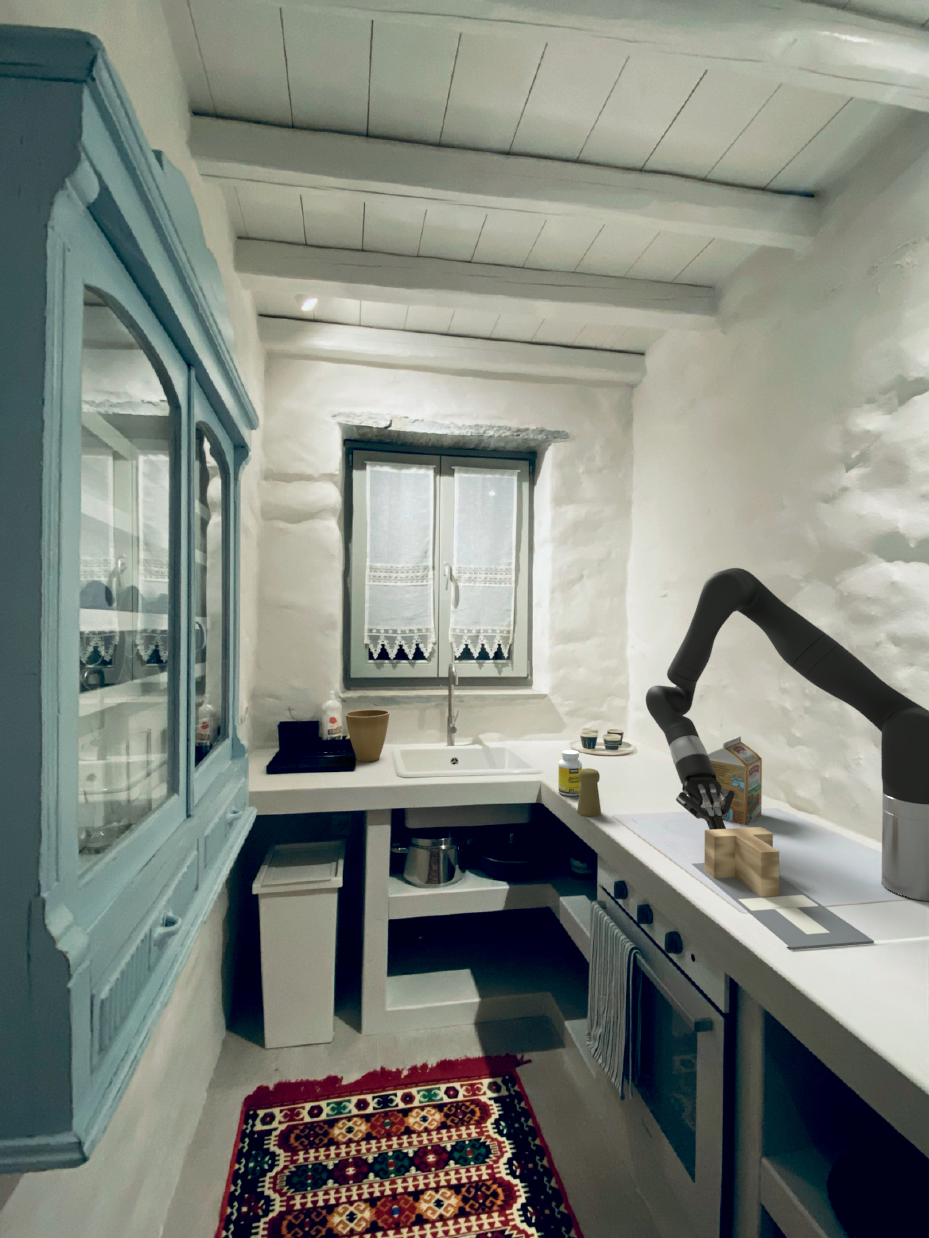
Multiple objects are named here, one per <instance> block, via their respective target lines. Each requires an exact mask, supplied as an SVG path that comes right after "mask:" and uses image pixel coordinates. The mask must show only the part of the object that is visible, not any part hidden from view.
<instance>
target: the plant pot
mask: <svg viewBox="0 0 929 1238" xmlns="http://www.w3.org/2000/svg"><path fill="white" fill-rule="evenodd" d="M389 718H390V711H388V710H385V709H384V710H383V709H360V710H354V711H353V710H352V711H349V712H347V713H345V721H346V726H347V732H348V735H349V739H350V742H351V747H352V749H353V752H354V755H355V754H356V755H355V757H356V759H357V761H360V762H367V763H368V762H374V761H378V760H379V759H380V757H381V754H382V752H383V748H384V744H385V741H386V738H387V732H388V728H389V727H388V725H389Z"/></svg>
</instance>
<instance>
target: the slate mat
mask: <svg viewBox="0 0 929 1238" xmlns="http://www.w3.org/2000/svg"><path fill="white" fill-rule="evenodd" d="M691 865H692V866H693V867H694V868H695V869H696V870H698V871H699V872H700V873H702V875H704V876H705V877H706V878H707V879H709V880H710V881H711V882H712V883H714V885H716V887H718V888H719V889H720V890H721V891H723V892H724V893H725V894H726V895H727V896H729V898H731V899H732V900H733V901H735V902H736V903H737V904H738V905H739V906H740V907H742V908H743V909H744V910H746V912H748V914H750V915H751V916H753V918H755V919H756V920H757V921H758V922H759V923H761V924H762V925H763V927H765V928H767V929H768V930H769V931H770V932H771V933H772V934H774V935H775V937H777V938H778V939H779V940H780V941H782V942H783V944H786V945H787V946H786V948H787V949H789V950H790V951H792V950H793V951H794V950H805V949H807V950H808V949H819V948H831V947H840V946H854V945H857V946H858V945H868V944H869V945H870V944H874V943H875V940H873V939H872V938H871V937H869V936H868V935H866V934H864V933H863V932H862V931H861V930H859V929H857V928H856V927H855V926H853V925H852V924H850V923H849V922H847V921H846V920H844V919H843V918H841V917H840V916H839V915H837V914H836V913H834V912H833V911H831V910H830V909H829V908H827V907H826V906H824V905H823V904H821V903H820V902H818V901H817V900H815V899H814V898H812V897H811V896H809V895H808V894H807V893H805V892H803V890H801V889H800V888H798V887H796V886H795V885H793V884H792V883H791V882H789V881H788V880H786V879H785V878H783V877H782V876H780V875H779V896H769V897H760V896H759V895H757V894H756V893H755V892H754V891H752V890H751V889H750V888H748V887H747V886H746V885H745V884H743V883H742V882H741V881H739V880H738V879H737V878H736V877H728V878H713V877H712V876H711V875H709V874H708V873H707V872H706V871H705V862H700V863H699V862H697V863H691Z"/></svg>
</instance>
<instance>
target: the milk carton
mask: <svg viewBox="0 0 929 1238" xmlns="http://www.w3.org/2000/svg"><path fill="white" fill-rule="evenodd" d="M707 754H708V757H709V759H710V761H711V764H712V766H713V769H714V771H715V774H716V779H717V781H718V782H719V783H720V784H721V786H722V788H723V789H725V790H727V791H728V792H729V791H730V790H732V791H733V792H734V793H735V795H734V797H733V800H732V803H731V806H730V809H729V811H728V813H727V814H726V815H725V816H724V817H723V818H722V820H723V821H727V822H730V823H735V824H739V825H741V826H746V825H748V824H750V823H751V822H753V821H754V820H755V819H757V818H758V817H760V816H761V815H762V801H763V800H762V799H763V797H762V796H763V795H762V793H763V792H762V789H763V775H762V774H763V757H761V756H760V755H759V754H758V753H757V752H756V751H755V750H753V749H752V748H751V747H750V746H748V744H747V745H746V744H745V743H744V742H743V741H742V737H741V736H739V735H738V736H736V737H733V738H731V739H728V740H726V741H723V742H722V747H721V748H719V749H717V750H714V751H712V752H709V753H707ZM722 802H723V801H722V800H721V794H720V796H719V803H720V804H719V807H720V808H721V805H722Z"/></svg>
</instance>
